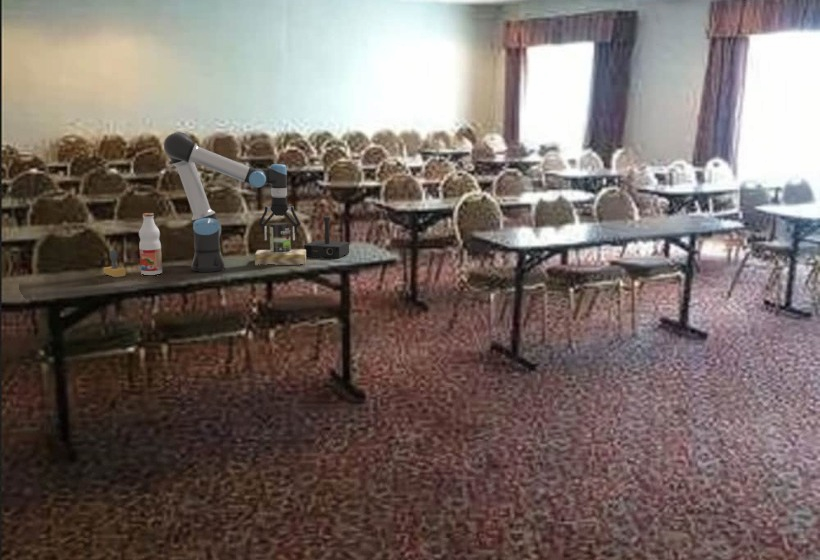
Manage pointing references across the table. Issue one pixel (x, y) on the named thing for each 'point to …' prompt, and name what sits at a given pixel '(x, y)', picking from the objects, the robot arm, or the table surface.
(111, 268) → the rubber stamp
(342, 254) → the projector
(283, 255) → the beige flat block
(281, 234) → the coffee can
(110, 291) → the table surface
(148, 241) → the fruit juice
